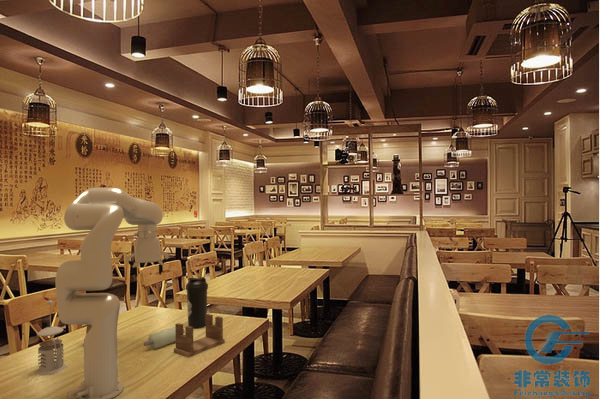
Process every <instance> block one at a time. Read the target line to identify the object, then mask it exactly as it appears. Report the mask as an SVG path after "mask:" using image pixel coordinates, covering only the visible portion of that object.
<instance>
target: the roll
mask: <svg viewBox="0 0 600 399" xmlns="http://www.w3.org/2000/svg"><path fill="white" fill-rule="evenodd" d="M183 334H184V335H185V329H184V328H183ZM172 343H176V327H175V326H173V327H169V328H167V329H164V330H160V331H156V332H154V333H150V334H149V335H148V337H147V340H146V341H143V343H142V344H143V347H147V346H148V347H150V349H152V350H156V349H158V348H161V347H165V346H166V345H169V344H172Z"/></svg>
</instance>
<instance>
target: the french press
mask: <svg viewBox="0 0 600 399" xmlns="http://www.w3.org/2000/svg"><path fill="white" fill-rule="evenodd" d="M46 304H47V305H49V325H50V326H46V327H44V328H43V329H40V331H39V332H37V333H36V334H37V336H39V337H50V339H46V340H43V341H42V342H40V343H39V344H38V346H39V347H38V348H37V350H38V351H37V354H38V355H37V356H38V359H37V360H38V367H37V368H36V370H35V372H34V373H35V375H37V376H38V375H39V376H47V375H53V374H58V373H60V372H62V371H64V370H65V369H66V368H67V367H68V366H67V365H66V364H65V362H64V344H63V343H62V342H63V340H62V339H60V337H59V336H56V335H59V334H61V333H62V332H63V331H64V328H62V327H61V326H55V325H54V326H52V319H51V318H52V315H51V314H52V311H51V310H52V308H51V305H52V304H54V300H51V299H50V300H48V301H47V302H46ZM52 336H56V338H55V339H54V338H53V337H52Z"/></svg>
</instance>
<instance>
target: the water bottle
mask: <svg viewBox="0 0 600 399" xmlns="http://www.w3.org/2000/svg"><path fill="white" fill-rule="evenodd" d="M187 279H188V282H187V284H185V290H186V302H187V303H186V304H187V305H186V308H187V309H186V310H187V324H188V325H187V326H191V327H193V330H194V329H195V330H196V329H202V328H206V319H205V315H206V314H208V313H207V312H208V288H209V284H208V283H207V280H206V278H205V277H204V276H201V277H200V278H198V277H189V278H187Z"/></svg>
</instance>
